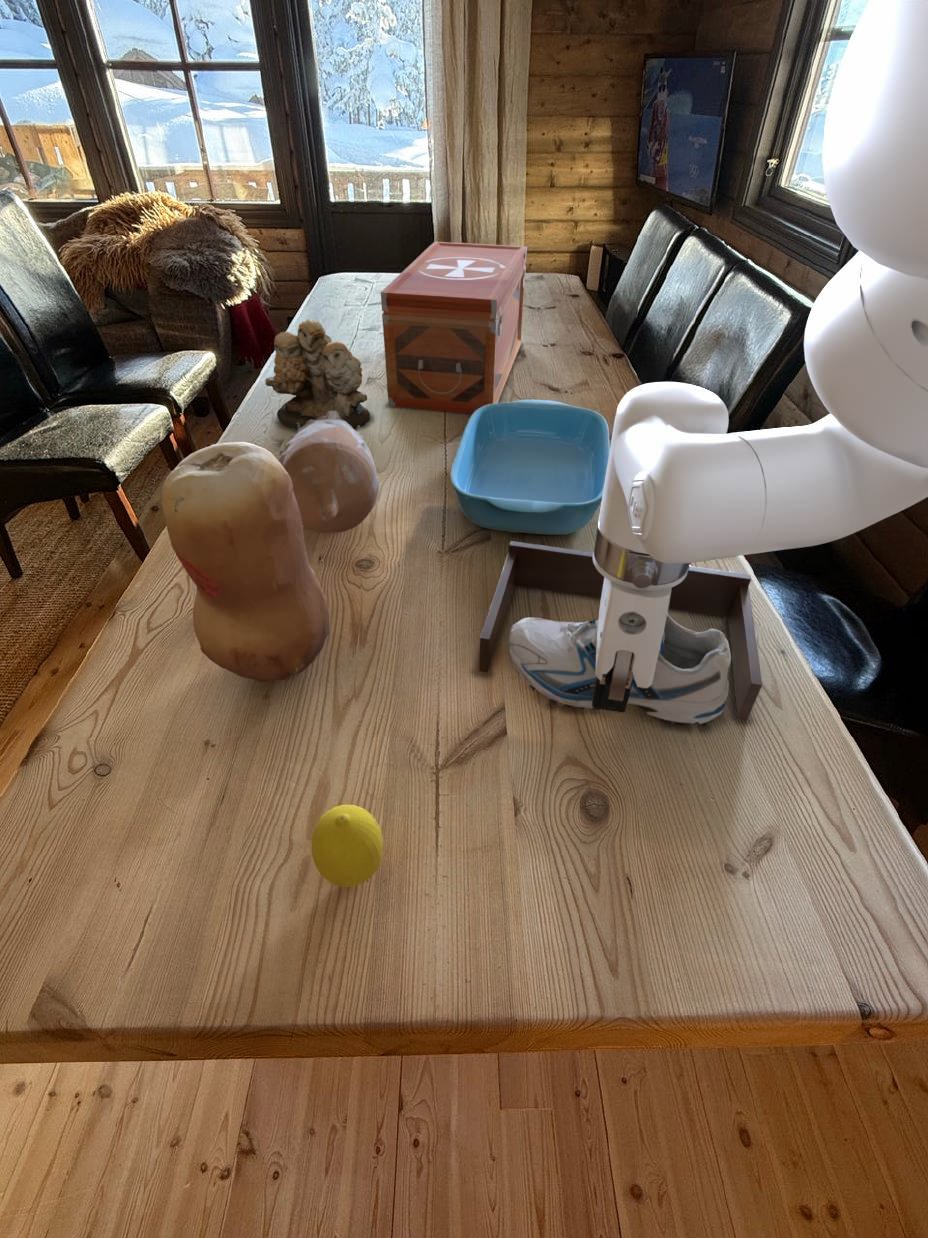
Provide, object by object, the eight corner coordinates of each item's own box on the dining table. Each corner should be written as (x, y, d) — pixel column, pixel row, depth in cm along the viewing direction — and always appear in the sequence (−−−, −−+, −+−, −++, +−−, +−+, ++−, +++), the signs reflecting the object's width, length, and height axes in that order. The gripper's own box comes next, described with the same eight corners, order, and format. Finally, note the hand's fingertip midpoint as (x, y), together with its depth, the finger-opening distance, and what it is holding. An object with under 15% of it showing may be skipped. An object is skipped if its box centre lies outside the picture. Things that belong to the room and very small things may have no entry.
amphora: (266, 488, 76) (286, 351, 95) (268, 580, 88) (286, 443, 107) (385, 500, 79) (382, 365, 98) (372, 588, 91) (371, 453, 110)
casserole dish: (475, 430, 117) (476, 391, 112) (602, 439, 115) (608, 399, 110) (438, 547, 89) (437, 501, 85) (604, 563, 87) (613, 516, 82)
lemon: (394, 891, 53) (387, 837, 48) (326, 914, 51) (311, 862, 46) (377, 833, 57) (369, 777, 52) (313, 853, 55) (298, 798, 50)
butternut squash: (187, 665, 72) (108, 456, 56) (286, 606, 80) (242, 407, 63) (264, 730, 65) (198, 513, 49) (364, 659, 73) (336, 451, 57)
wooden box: (522, 343, 152) (529, 246, 139) (494, 416, 122) (498, 300, 108) (436, 337, 155) (434, 241, 142) (387, 406, 125) (379, 292, 111)
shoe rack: (747, 719, 67) (765, 678, 63) (478, 671, 72) (480, 630, 68) (736, 614, 79) (750, 574, 75) (507, 579, 84) (510, 540, 80)
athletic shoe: (509, 633, 76) (514, 566, 66) (714, 661, 73) (751, 595, 63) (497, 710, 70) (500, 649, 60) (718, 743, 67) (759, 685, 58)
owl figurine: (264, 432, 116) (243, 331, 105) (281, 404, 125) (264, 309, 114) (365, 434, 115) (355, 333, 104) (375, 407, 124) (367, 311, 113)
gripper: (695, 614, 46) (646, 774, 58) (689, 505, 57) (649, 658, 69) (586, 598, 47) (560, 758, 59) (601, 495, 58) (577, 647, 70)
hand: (608, 704), depth 64 cm, fingers closed
